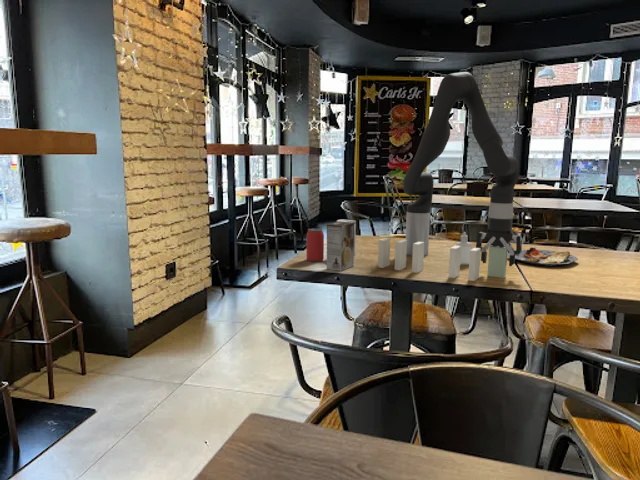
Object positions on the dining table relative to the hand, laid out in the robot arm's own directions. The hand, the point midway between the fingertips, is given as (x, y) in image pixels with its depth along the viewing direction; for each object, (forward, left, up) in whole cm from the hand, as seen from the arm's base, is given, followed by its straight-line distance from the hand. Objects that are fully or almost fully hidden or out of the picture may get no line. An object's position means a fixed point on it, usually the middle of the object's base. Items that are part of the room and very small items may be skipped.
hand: (497, 264), depth 165 cm
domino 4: (+8, -12, -4) cm, 15 cm away
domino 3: (+8, -25, -4) cm, 26 cm away
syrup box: (+1, -58, -4) cm, 58 cm away
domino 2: (+8, -32, -4) cm, 33 cm away
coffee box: (+19, -50, -4) cm, 54 cm away
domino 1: (+8, -38, -4) cm, 39 cm away
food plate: (-35, +9, -5) cm, 37 cm away
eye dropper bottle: (-12, -15, -4) cm, 20 cm away
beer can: (+14, -64, -4) cm, 66 cm away
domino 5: (+8, -6, -4) cm, 10 cm away
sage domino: (0, 0, -4) cm, 4 cm away
